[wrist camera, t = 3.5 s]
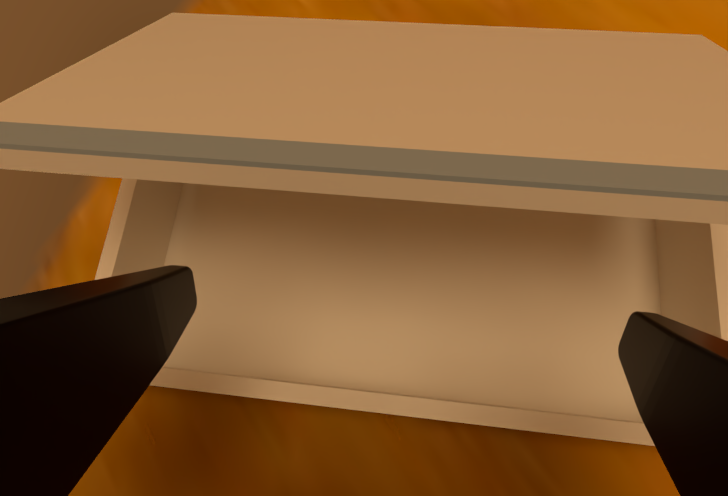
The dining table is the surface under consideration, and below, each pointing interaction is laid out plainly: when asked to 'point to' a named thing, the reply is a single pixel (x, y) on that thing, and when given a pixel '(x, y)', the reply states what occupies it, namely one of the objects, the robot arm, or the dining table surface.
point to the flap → (394, 114)
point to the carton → (417, 301)
